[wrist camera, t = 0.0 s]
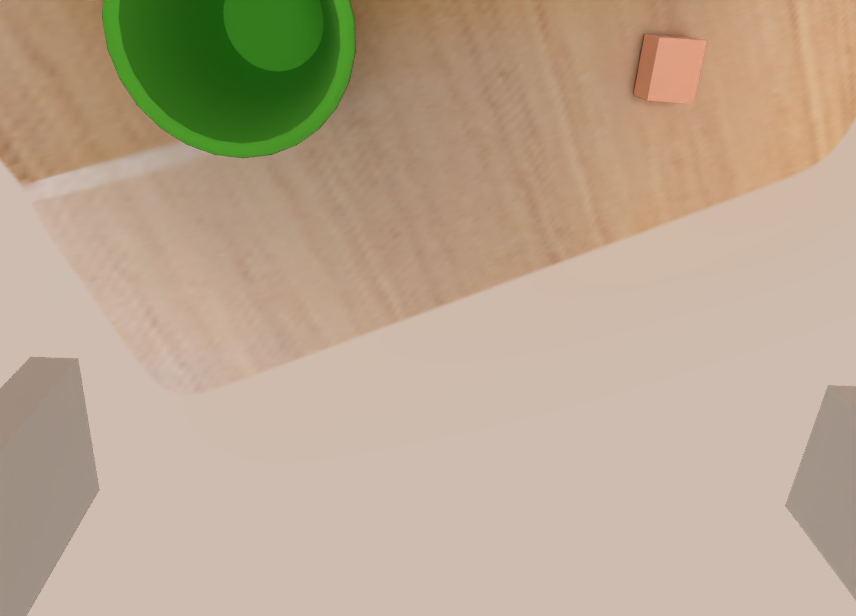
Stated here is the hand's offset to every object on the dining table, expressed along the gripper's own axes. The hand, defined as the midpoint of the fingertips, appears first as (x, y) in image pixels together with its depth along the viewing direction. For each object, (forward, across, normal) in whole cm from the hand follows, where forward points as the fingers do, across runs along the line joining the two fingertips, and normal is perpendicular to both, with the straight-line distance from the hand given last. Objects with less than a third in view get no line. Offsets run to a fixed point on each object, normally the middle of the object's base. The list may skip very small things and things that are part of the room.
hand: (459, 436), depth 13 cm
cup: (+28, -7, +5) cm, 30 cm away
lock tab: (+28, +13, +4) cm, 31 cm away
